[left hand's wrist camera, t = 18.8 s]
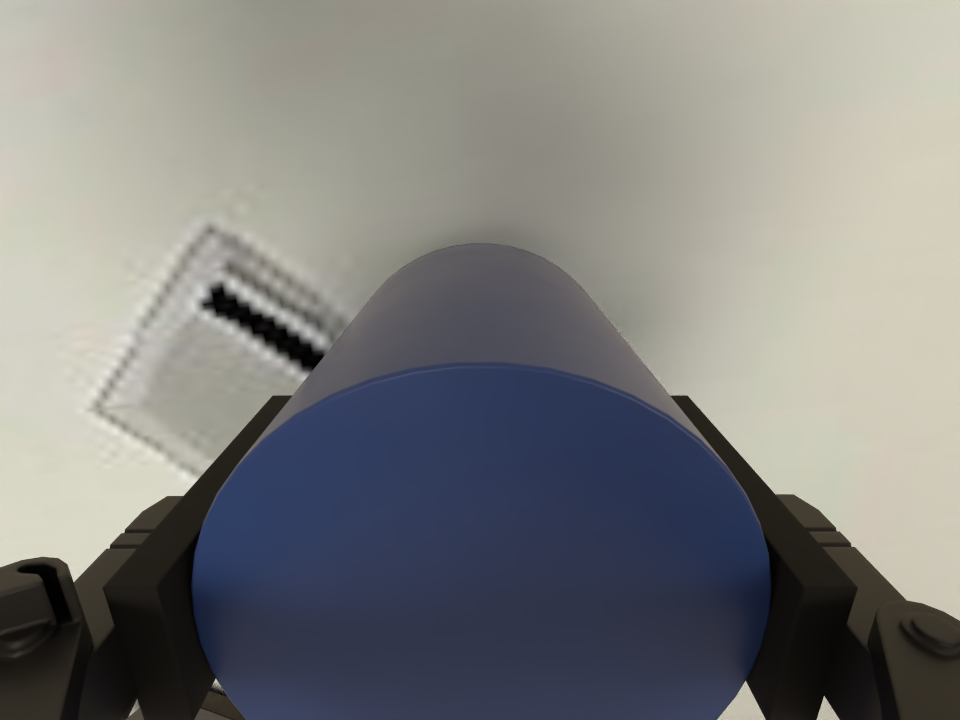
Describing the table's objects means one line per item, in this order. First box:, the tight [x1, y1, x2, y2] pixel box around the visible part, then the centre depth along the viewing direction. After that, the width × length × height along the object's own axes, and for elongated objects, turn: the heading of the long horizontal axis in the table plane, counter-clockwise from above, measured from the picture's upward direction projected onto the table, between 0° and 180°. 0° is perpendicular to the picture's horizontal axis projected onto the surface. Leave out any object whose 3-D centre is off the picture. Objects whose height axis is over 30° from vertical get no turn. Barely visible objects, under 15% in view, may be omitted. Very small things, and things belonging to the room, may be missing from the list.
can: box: [191, 244, 772, 720], centre depth 13 cm, size 9×9×11 cm
